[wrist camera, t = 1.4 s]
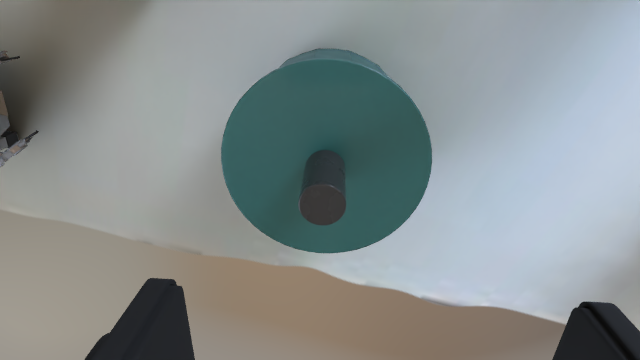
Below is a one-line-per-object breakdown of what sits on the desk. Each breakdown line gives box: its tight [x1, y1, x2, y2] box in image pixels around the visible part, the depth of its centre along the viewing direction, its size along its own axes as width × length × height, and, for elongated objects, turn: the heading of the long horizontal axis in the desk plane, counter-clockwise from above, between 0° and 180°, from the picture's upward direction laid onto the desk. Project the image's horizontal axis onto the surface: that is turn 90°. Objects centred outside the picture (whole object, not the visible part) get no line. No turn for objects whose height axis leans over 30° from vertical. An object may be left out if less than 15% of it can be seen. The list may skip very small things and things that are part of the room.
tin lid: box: [221, 58, 432, 253], centre depth 23 cm, size 14×14×6 cm
